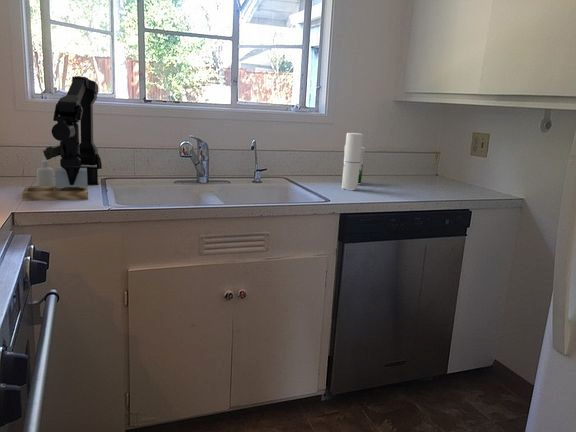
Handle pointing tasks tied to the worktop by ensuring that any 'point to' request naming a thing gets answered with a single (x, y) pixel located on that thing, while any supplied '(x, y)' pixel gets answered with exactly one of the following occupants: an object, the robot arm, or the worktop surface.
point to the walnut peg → (71, 188)
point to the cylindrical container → (352, 160)
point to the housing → (63, 179)
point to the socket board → (53, 193)
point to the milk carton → (360, 163)
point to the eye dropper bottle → (45, 174)
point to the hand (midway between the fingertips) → (71, 183)
